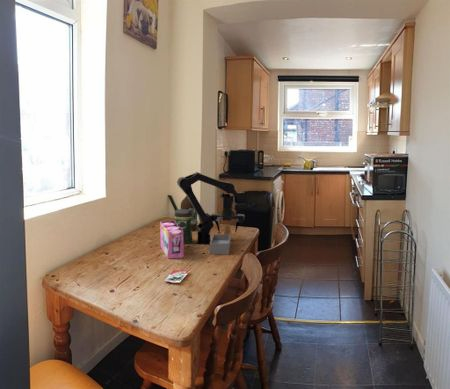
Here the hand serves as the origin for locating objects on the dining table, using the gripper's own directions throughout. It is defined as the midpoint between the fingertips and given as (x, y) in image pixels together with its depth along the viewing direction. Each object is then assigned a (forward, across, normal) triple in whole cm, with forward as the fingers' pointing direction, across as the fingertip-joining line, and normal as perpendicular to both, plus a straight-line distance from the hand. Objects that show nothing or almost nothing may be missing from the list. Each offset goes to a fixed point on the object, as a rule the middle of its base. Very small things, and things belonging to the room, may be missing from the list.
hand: (227, 232), depth 238 cm
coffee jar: (+5, -24, -6) cm, 25 cm away
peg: (+5, 0, 0) cm, 5 cm away
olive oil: (+5, -25, +23) cm, 34 cm away
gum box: (+5, -27, -24) cm, 37 cm away
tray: (+5, -3, -17) cm, 18 cm away
